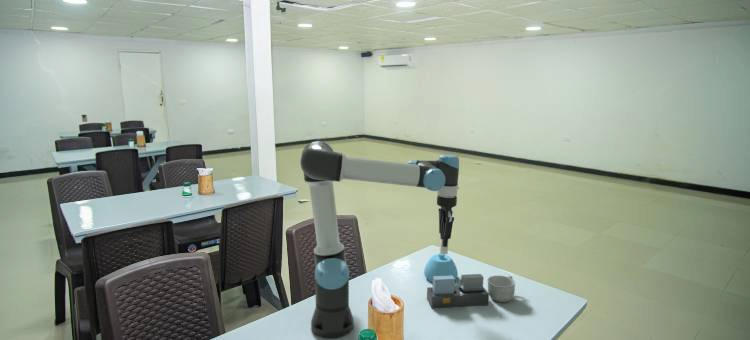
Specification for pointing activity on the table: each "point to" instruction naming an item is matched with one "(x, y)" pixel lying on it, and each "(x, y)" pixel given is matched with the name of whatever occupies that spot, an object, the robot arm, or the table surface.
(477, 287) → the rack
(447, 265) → the sugar bowl
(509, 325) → the table surface
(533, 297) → the table surface
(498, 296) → the teacup
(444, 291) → the panel
